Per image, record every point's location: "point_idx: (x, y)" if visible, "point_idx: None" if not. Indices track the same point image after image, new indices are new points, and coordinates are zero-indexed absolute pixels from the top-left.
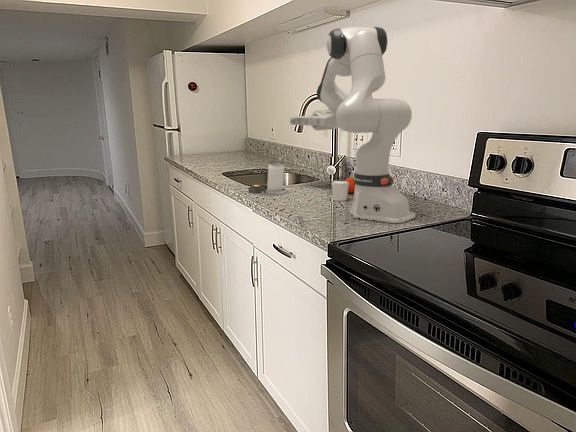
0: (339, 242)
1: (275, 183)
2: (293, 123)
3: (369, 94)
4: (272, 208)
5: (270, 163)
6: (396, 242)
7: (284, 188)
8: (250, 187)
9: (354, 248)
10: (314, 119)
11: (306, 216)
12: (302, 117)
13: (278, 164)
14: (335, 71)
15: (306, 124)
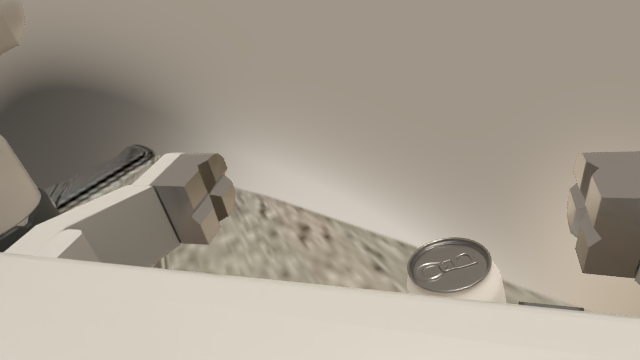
0: (143, 159)
1: None
2: (570, 231)
3: None
4: (337, 232)
5: (480, 251)
6: (56, 189)
7: None
8: (568, 307)
9: (123, 154)
10: (87, 203)
11: (223, 220)
12: (514, 307)
13: (435, 269)
14: None
15: None
